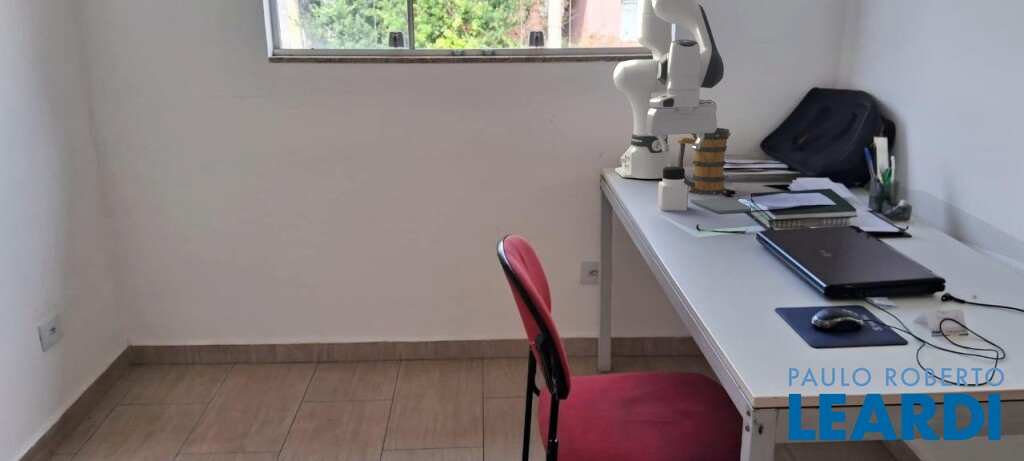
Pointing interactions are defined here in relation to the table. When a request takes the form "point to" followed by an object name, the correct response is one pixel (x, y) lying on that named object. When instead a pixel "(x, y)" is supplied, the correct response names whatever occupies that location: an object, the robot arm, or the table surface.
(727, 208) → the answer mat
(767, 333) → the table surface
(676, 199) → the medicine bottle
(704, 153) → the mug
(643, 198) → the table surface
